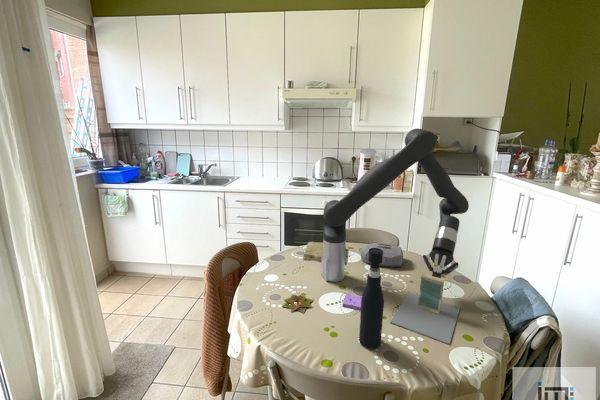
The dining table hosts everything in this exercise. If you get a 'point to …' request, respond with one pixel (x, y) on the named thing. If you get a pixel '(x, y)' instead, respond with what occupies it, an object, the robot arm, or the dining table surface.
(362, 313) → the black water bottle
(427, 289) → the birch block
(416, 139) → the robot arm
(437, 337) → the rubber mat
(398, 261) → the small grey backpack
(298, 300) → the green leafy rosette
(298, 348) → the dining table surface
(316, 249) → the decorative tile
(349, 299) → the sponges
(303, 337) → the dining table surface
